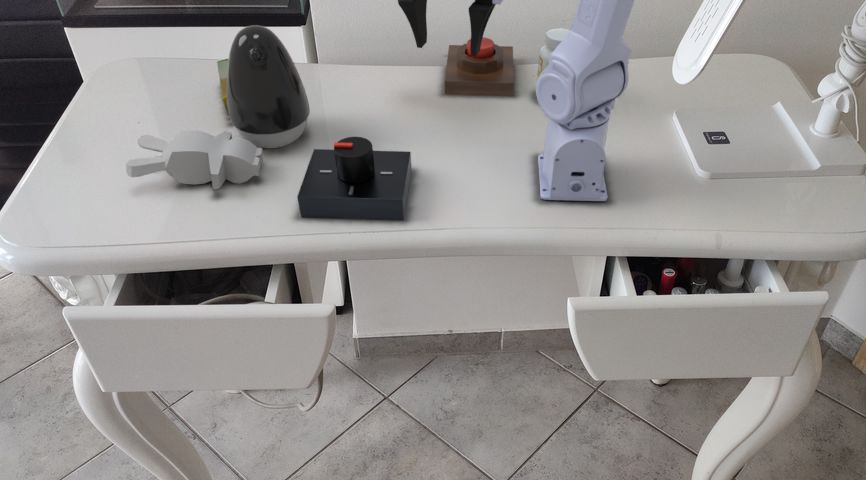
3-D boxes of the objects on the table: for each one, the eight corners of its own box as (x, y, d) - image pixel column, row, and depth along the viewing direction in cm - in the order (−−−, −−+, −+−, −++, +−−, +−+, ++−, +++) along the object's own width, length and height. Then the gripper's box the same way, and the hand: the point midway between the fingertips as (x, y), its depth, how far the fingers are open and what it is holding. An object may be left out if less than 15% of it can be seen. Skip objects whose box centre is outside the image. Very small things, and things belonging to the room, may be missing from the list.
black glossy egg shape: (234, 163, 91) (206, 49, 81) (236, 122, 98) (211, 13, 88) (315, 155, 93) (297, 42, 82) (311, 115, 100) (294, 7, 90)
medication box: (224, 85, 106) (215, 60, 104) (243, 81, 107) (234, 56, 104) (231, 123, 98) (221, 97, 95) (251, 119, 98) (242, 92, 95)
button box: (513, 96, 104) (514, 71, 102) (444, 94, 105) (444, 69, 102) (512, 59, 113) (513, 35, 111) (449, 58, 113) (448, 33, 111)
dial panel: (403, 220, 83) (402, 198, 81) (300, 217, 83) (296, 195, 81) (411, 171, 90) (410, 150, 88) (317, 169, 90) (313, 147, 88)
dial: (377, 162, 86) (374, 134, 83) (372, 184, 83) (369, 155, 80) (340, 161, 86) (337, 133, 83) (334, 182, 83) (330, 154, 80)
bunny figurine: (253, 167, 83) (117, 158, 81) (256, 202, 87) (126, 195, 85) (264, 125, 90) (139, 116, 88) (266, 159, 94) (146, 151, 92)
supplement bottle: (528, 96, 105) (532, 32, 98) (554, 85, 107) (560, 22, 101) (553, 110, 102) (560, 45, 95) (580, 99, 104) (588, 35, 98)
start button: (493, 60, 105) (493, 49, 104) (466, 59, 105) (466, 48, 104) (493, 48, 108) (494, 37, 107) (467, 47, 108) (467, 36, 107)
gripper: (379, -54, 86) (387, 53, 95) (495, -40, 83) (491, 69, 92) (401, -72, 91) (406, 32, 100) (511, -59, 88) (506, 47, 97)
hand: (448, 48), depth 96 cm, fingers open, 7 cm apart
